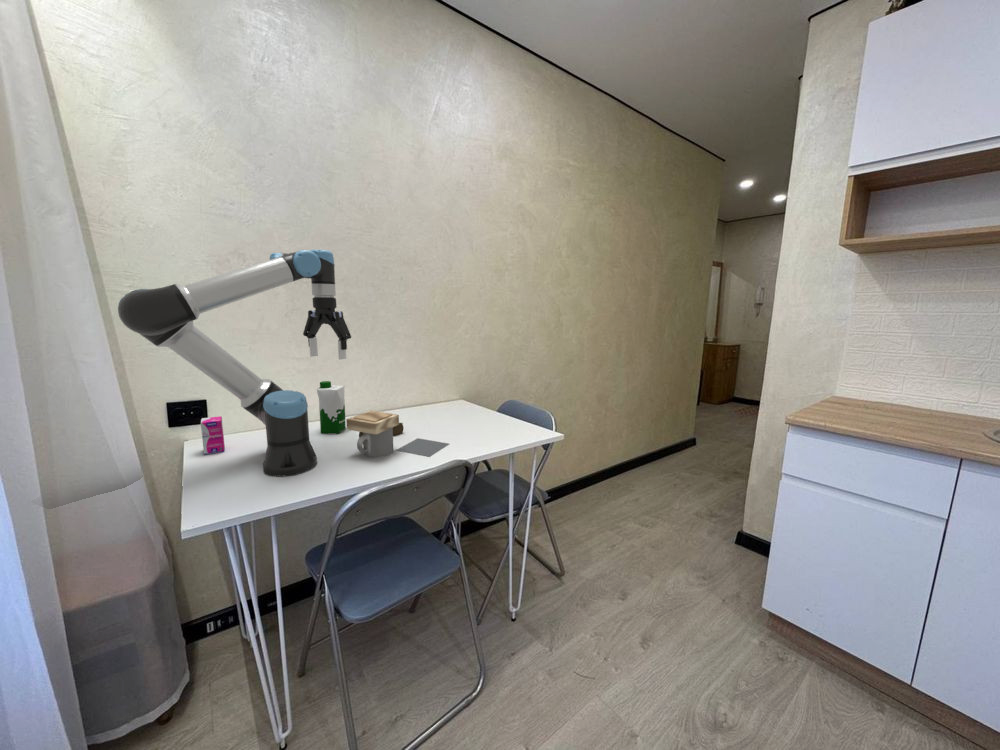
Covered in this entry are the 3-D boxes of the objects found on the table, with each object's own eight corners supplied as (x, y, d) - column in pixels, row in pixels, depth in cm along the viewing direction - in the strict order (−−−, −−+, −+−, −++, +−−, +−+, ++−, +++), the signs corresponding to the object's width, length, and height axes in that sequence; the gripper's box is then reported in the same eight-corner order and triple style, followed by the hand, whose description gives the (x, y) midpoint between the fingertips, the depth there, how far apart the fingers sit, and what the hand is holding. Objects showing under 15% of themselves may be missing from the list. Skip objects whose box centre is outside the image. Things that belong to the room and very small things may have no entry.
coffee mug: (383, 446, 145) (382, 419, 143) (399, 453, 138) (398, 425, 136) (348, 456, 135) (347, 427, 133) (363, 464, 128) (362, 435, 127)
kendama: (354, 442, 150) (394, 427, 166) (370, 448, 145) (411, 432, 161) (353, 427, 148) (394, 413, 165) (370, 432, 143) (410, 418, 160)
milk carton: (327, 427, 164) (324, 379, 161) (349, 427, 164) (346, 380, 160) (317, 434, 156) (314, 384, 152) (340, 434, 156) (337, 384, 152)
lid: (375, 434, 127) (375, 423, 127) (346, 429, 132) (346, 418, 131) (398, 424, 138) (398, 413, 137) (371, 419, 143) (370, 409, 142)
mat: (429, 458, 134) (429, 457, 134) (395, 452, 139) (395, 450, 139) (449, 445, 147) (449, 443, 147) (417, 439, 152) (417, 438, 152)
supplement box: (203, 455, 133) (199, 422, 130) (204, 449, 137) (201, 418, 135) (224, 452, 136) (221, 420, 134) (225, 446, 141) (221, 415, 138)
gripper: (360, 297, 136) (362, 358, 140) (307, 296, 146) (311, 353, 150) (343, 297, 129) (346, 361, 133) (289, 296, 139) (294, 356, 143)
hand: (328, 357), depth 141 cm, fingers open, 13 cm apart
